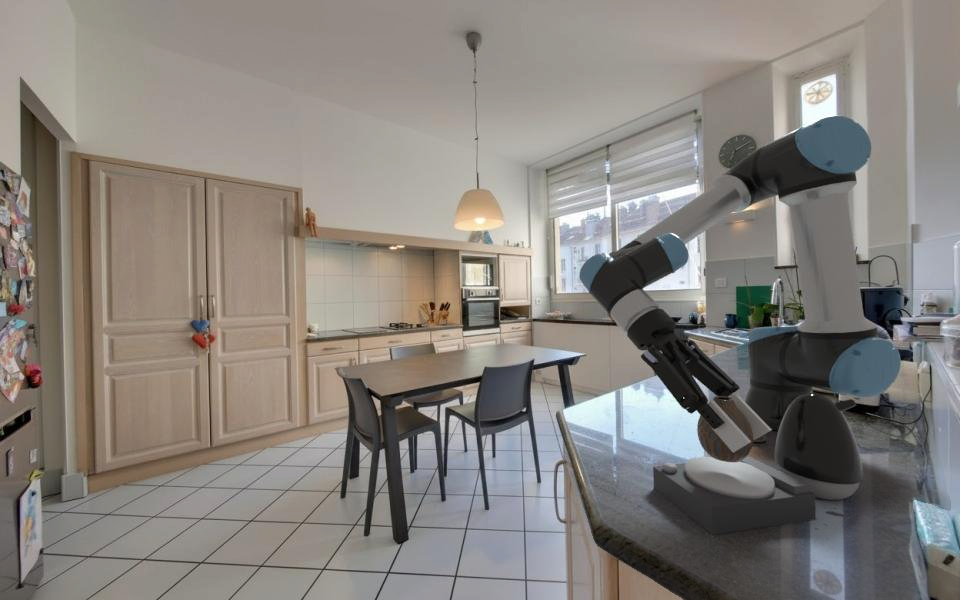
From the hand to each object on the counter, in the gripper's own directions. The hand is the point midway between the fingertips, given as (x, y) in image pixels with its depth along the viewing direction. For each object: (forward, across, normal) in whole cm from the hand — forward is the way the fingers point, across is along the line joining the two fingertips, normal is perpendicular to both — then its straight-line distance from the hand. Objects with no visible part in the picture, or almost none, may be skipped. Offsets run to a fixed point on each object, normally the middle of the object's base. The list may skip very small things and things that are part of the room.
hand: (752, 440), depth 52 cm
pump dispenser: (+10, -15, -5) cm, 18 cm away
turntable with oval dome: (+5, 0, -10) cm, 11 cm away
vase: (0, 0, -5) cm, 5 cm away
